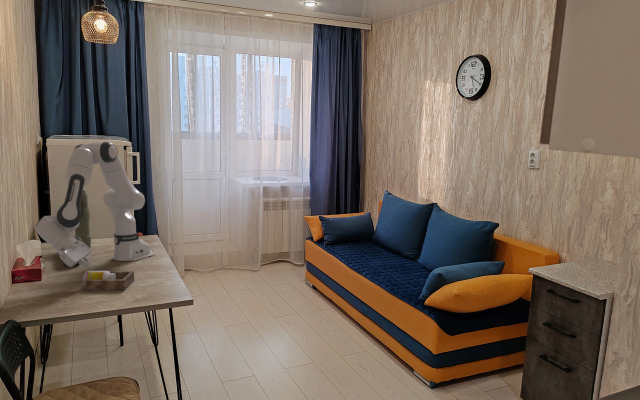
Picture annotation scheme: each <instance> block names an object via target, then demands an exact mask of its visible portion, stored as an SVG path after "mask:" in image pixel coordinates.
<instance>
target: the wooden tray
mask: <svg viewBox="0 0 640 400" xmlns="http://www.w3.org/2000/svg"><path fill="white" fill-rule="evenodd" d="M108 271H109V270H108ZM109 272H110V273H115V274H116V279H115V280H85V283H84V287H85V291H126V290H127V289H128V288H129V285H130V286H131V284H132V283H134V281H135V271H133V270H132V271H131V270H129V271H128V270H127V271H125V270H124V271H123V270H121V271H120V270H119V271H117V270H113V271H112V270H110V271H109Z"/></svg>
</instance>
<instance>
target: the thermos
mask: <svg viewBox="0 0 640 400" xmlns="http://www.w3.org/2000/svg"><path fill="white" fill-rule="evenodd" d="M88 200H89V199H88V193H87V191H86V190H85V189H83V191H82V196H81V201H80V209H81V213H82V218H81V221H80V223H79V226H78V227H77V228H76V229H75V230H74V234H75V236H74V237H79V238H80V239H81V240H80V241H82V242H84V243H85V244H86V245H87V246H88V247H89V248H90V247H91V248H92V238H91V234H90V233H91V232H90V219H91V217H90V208H89V203H88V202H89V201H88ZM91 248H90V249H91Z"/></svg>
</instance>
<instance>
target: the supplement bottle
mask: <svg viewBox="0 0 640 400" xmlns="http://www.w3.org/2000/svg"><path fill="white" fill-rule="evenodd" d="M115 279H116V274H115V273H110V272H109V270H87V271H85V273H84V274H83V284H85V280H115Z"/></svg>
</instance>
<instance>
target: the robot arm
mask: <svg viewBox="0 0 640 400" xmlns="http://www.w3.org/2000/svg"><path fill="white" fill-rule="evenodd" d="M94 165H99V168H100V170H101V173H102V175H103V177H104V178H103V179H104V180H105V183H106V185H107V186H108V187H110V188H111V189H108V190H106V191H105V192H104V194H103V198H102V199H103V203H104V204H105V205H106V206H107V207H108V209H109V211H110V212H111V216H112V218H113V224H114V225H113V226H114V234H113V241H114V251H113V255H112V260H114V261H120V262H121V261H123V262H125V261H129V262H130V261H131V262H135V261H139V260H142V259H145V258H146V259H147V258H150V257H152V256H155V255H156V254H155V252H154V251H152V250H151V247H150V245H149V244H148V243H147V242H146V241H144V240H143V239H142V237H143V236H144V235H143V233H142V232H137V224H136V219H135V216H133V215H132V214H131V212H130V211H136V210H141V209H142V208H143V207H144V206H145V203H146V199H145V196H144V194H143V193H142V192H140V190H138V189H137V188H136V187H135V186H134V184H133V183H132V182H131V181H130V179H129V177H128V175H127V172H126V169H125V166H124V164H123V161H122V159H121V158H120V156H119V152H118V148H117V146H116V145H115V144H114V143H113V142H110V141H103V142H102V141H98V142H97V141H94V142H88V143H80V144H77V145H76V146H75V147H74V149H73V151H72V153H71V155H70V157H69V160H68V164H67V167H66V170H65V171H66V173H65V182H66V183H67V190H66V193H65V199H64V202H63V204H62V205H61V206H60V207H59V209H58V210H57V212H56V214H53V215H44V216H42V217H41V218H40V219H39V221H38V222H37V223H36V224H35V232H36V233H37V235H39V236H40V238H41V239H42V240H44V241H45V242H46V243H48V244H50V245H51V247H52V249H54V250H55V251H56V252H57V254H58V256H59V258H60V260H62V262H63V263H64V264H65V265H66V266H67V267H69V268H72V267H74V266H76V265H75V264H77V263H79V264H80V265H82V266H84V267H85V268H88V269H89V267H90V266H91V265H92V262H91V261H90V260H89V258H88V256H89V255H90V254H91V253H92V249H91V248H89V247H88V246H87V245H86V244H85V243H84V242H82V241H80V240H81V239H80V238H79V237H75V236H73V235H70V233H71V232H73V231H75V229H76V228H77V227H78V226H79V223H80V221H81V218H82V213H81V209H80V201H81V196H82V191H83V190H85V189H84V188H85V187H86V186H88V184H89V182H90V180H91V178H92V173H93V168H94ZM149 256H150V257H149ZM77 265H78V264H77Z"/></svg>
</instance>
